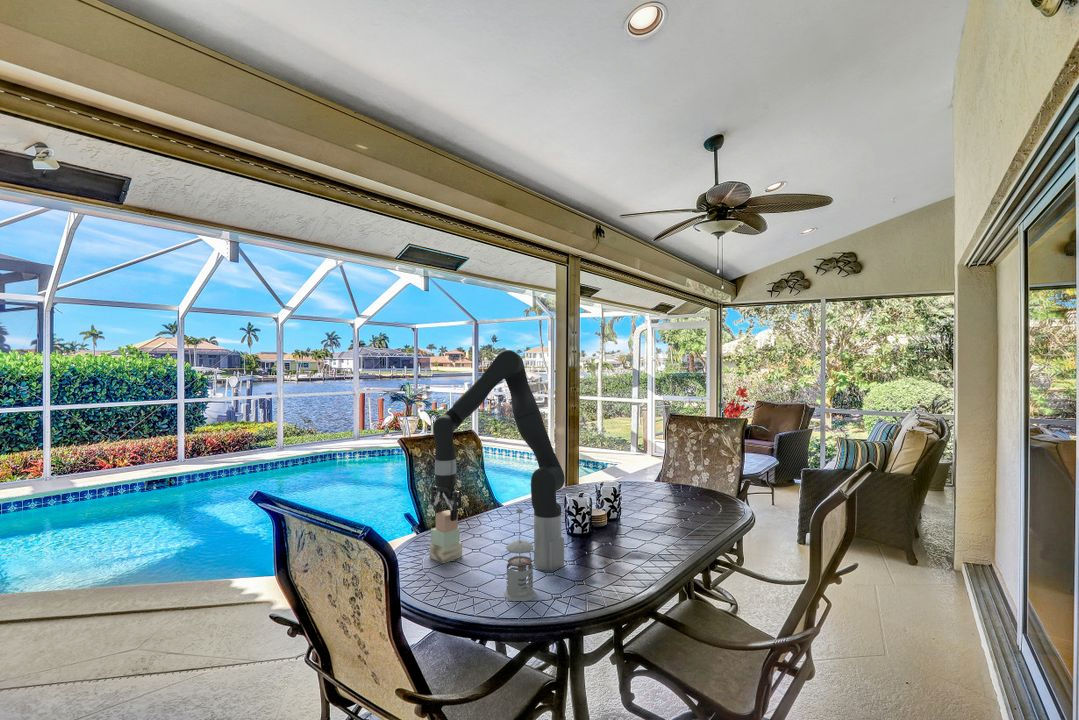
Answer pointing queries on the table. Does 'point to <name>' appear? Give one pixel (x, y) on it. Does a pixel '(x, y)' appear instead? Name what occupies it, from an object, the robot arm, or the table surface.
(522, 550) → the french press
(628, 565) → the table surface
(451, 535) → the sage top block
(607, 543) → the table surface
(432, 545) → the birch base block
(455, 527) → the terracotta block
